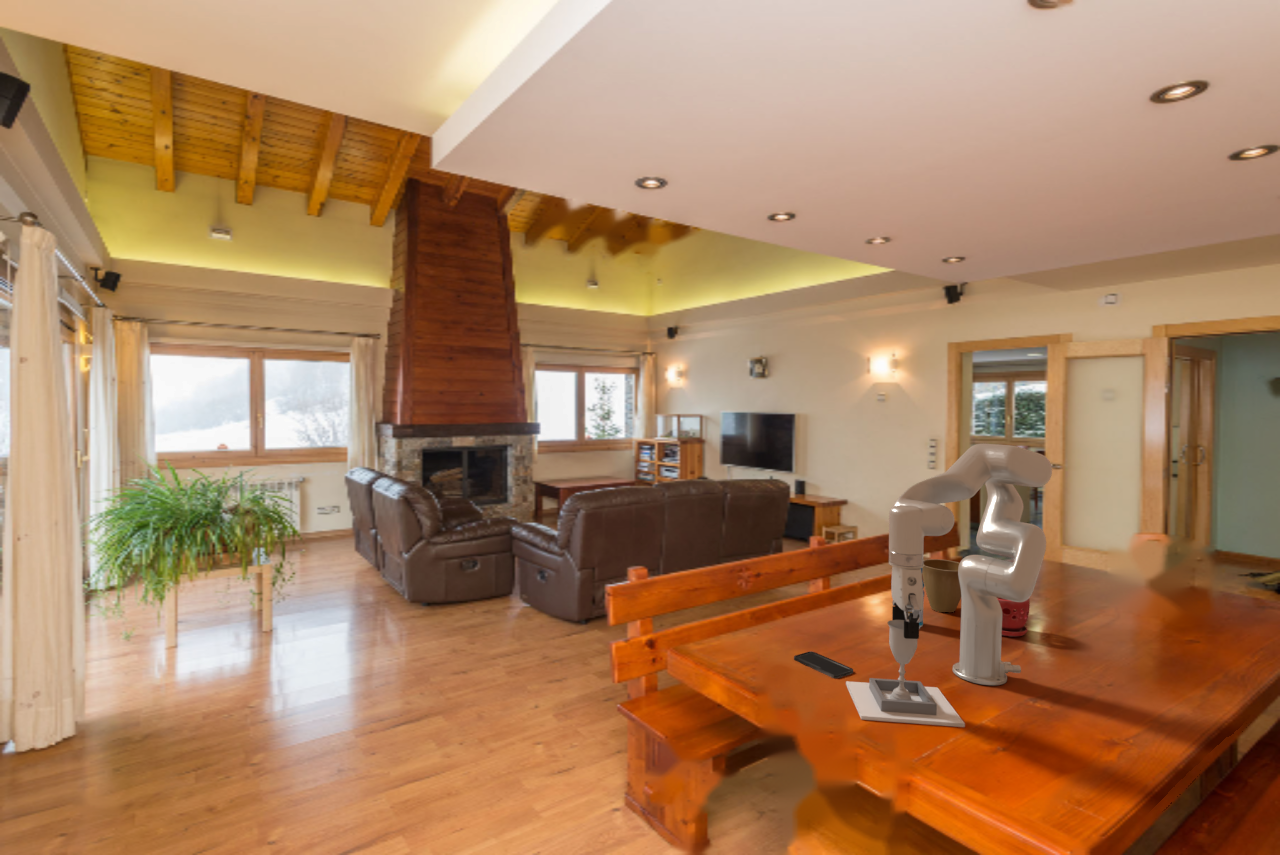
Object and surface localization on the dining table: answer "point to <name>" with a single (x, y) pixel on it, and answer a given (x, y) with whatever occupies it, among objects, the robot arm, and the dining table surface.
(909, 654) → the chalice
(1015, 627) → the plant pot
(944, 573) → the plant pot
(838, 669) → the phone
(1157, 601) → the dining table surface
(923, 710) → the holder
